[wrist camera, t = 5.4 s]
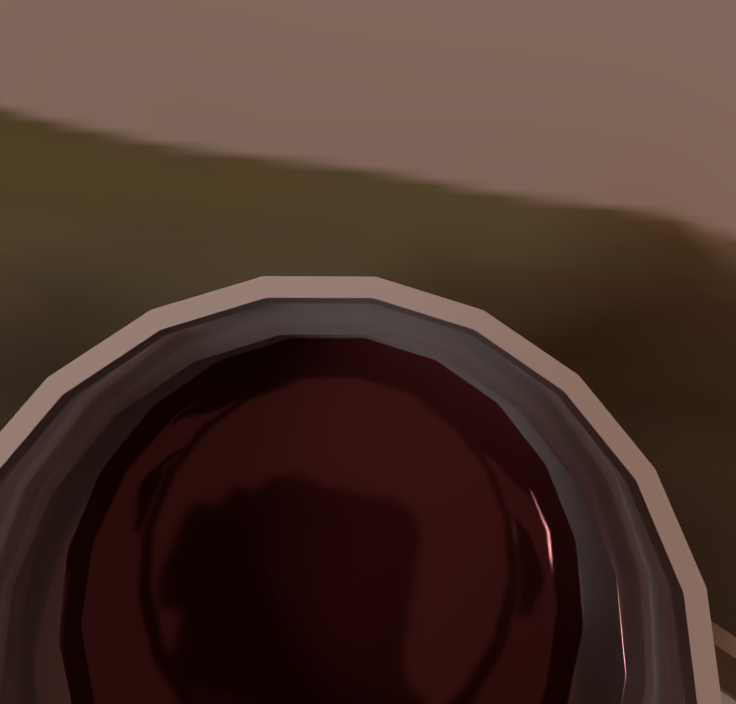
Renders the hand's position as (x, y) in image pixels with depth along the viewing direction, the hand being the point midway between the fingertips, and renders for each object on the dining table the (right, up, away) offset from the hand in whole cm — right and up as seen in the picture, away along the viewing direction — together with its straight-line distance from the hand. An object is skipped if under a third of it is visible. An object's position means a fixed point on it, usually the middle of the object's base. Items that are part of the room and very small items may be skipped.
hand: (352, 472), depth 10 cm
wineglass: (-1, -3, +6) cm, 7 cm away
